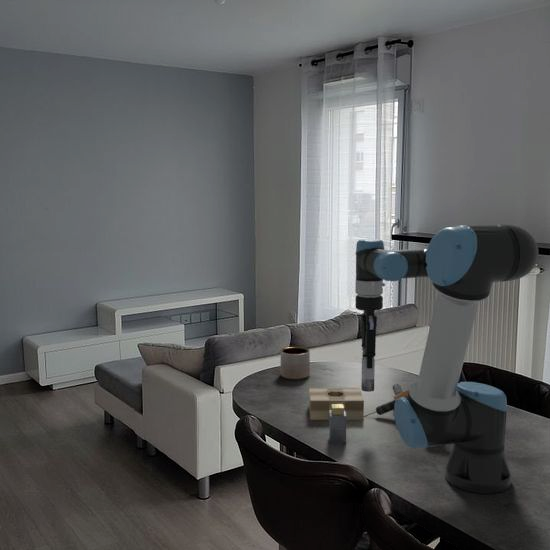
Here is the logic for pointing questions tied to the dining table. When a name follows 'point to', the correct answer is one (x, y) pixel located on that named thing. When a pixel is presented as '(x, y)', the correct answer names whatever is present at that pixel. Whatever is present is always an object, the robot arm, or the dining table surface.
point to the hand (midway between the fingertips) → (367, 376)
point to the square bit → (337, 424)
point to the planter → (295, 363)
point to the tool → (390, 405)
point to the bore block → (335, 402)
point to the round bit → (367, 383)
